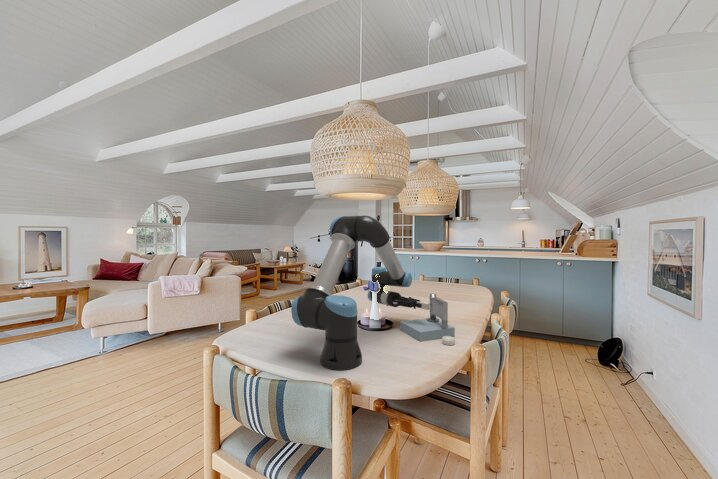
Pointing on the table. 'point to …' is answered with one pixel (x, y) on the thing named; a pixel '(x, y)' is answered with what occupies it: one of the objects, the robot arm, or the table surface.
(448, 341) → the cover cap
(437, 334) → the blue-grey square base
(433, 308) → the grey upright panel
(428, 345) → the table surface
